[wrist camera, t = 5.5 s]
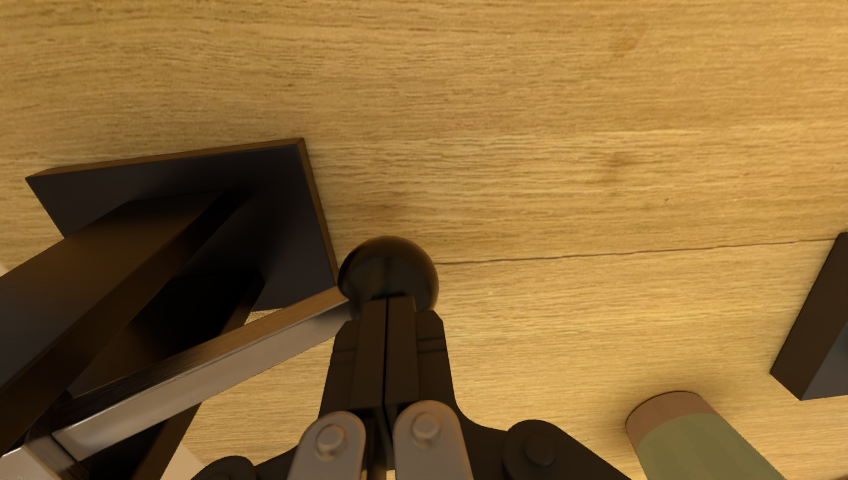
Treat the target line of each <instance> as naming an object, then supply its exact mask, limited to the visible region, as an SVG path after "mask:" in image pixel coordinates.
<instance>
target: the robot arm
mask: <svg viewBox="0 0 848 480" xmlns="http://www.w3.org/2000/svg"><path fill="white" fill-rule="evenodd" d="M388 470H395V479H396V480H631V479H630V478H628V477H627V476H626V475H624V474H623V473H621V472H620V471H619V470H617V469H616V468H614V467H613V466H612V465H610V464H609V463H607V462H606V461H605V460H603V459H602V458H600V457H599V456H598V455H596V454H595V453H593V452H592V451H591V450H589V449H588V448H586V447H585V446H584V445H582V444H581V443H579V442H578V441H577V440H575V439H574V438H572V437H571V436H570V435H568V434H567V433H565V432H564V431H563V430H561V429H560V428H558V427H557V426H555V425H553V424H551V423H549V422H546V421H542V420H524V421H521V422H518V423H517V424H515V425H513V426H512V427H511V428H510V429H509V430H508V431H503V430H498V429H493V428H488V427H484V426H481V425H479V424H476V423H474V422H473V421H471V420H469V419H468V418H467V417H466V416H465V415H464V414H463V413H462V412H461V411H460V409H459V407H458V406H457V403H456V400H455V396H454V390H453V383H452V377H451V371H450V364H449V358H448V352H447V345H446V339H445V333H444V326H443V321H442V320H441V319H440V317H439V316H438V315H437V314H436V312H435V311H434V310H429V311H421V312H416V305H415V299H414V295H406V296H398V297H390V298H389V300H388V298H383V299H375V300H367V301H362V304H361V311H360V318H359V319H358V320H350V321H345V323H344V324H343V325H342V327H341V328H340V330H339V331H338V332H337V334H336V336H335V340H334V345H333V353H332V354H331V359H330V366H329V369H328V373H327V378H326V383H325V387H324V392H323V397H322V401H321V406H320V411H319V415H318V418H317V420H316V421H314V422H313V423H312V424H311V425H310V426H309V427H308V428H307V429H306V431H305V432H304V433H303V435H302V437H301V439H300V441H299V444H298V445H297V446H295V447H294V448H292V449H291V450H289V451H287V452H285V453H283V454H281V455H279V456H276V457H274V458H272V459H270V460H267V461H265V462H263V463H261V464H258V465H256V466H253V464H252V463H251V461H250V460H248V459H247V458H245V457H242V456H236V455H235V456H228V457H224V458H221V459H218V460H216V461H214V462H212V463H211V464H209V465H208V466H206V467H205V468H203V469H202V470H201V471H200V472H199V473H197V474H196V475H195V476H194V477H193V478H192V479H191V480H386V473H387V471H388Z"/></svg>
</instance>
